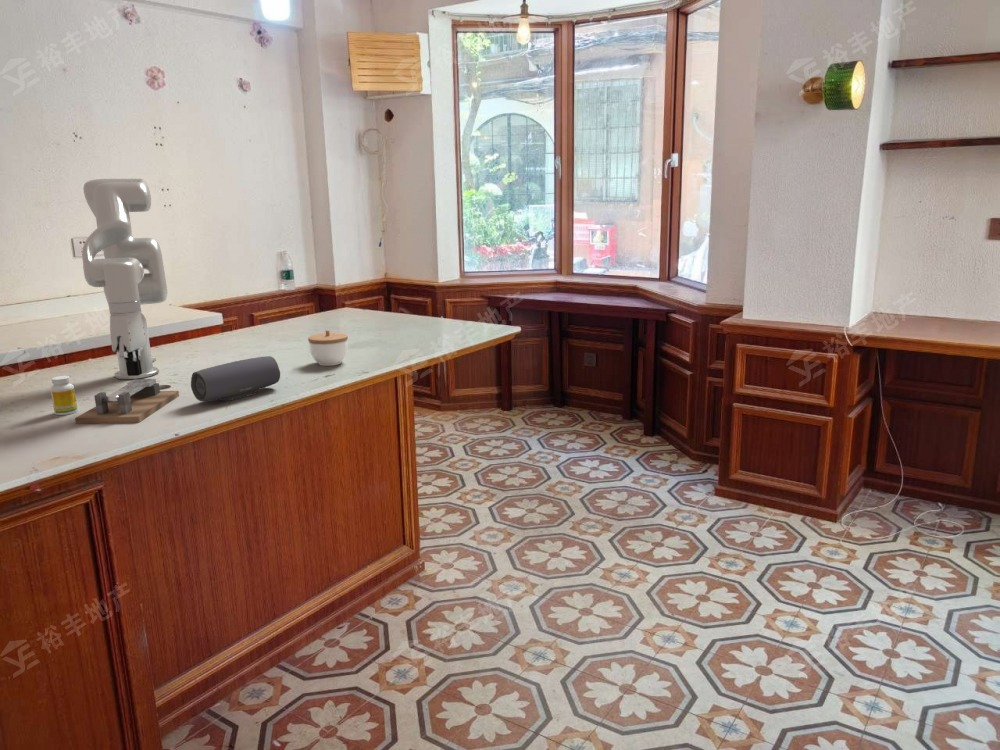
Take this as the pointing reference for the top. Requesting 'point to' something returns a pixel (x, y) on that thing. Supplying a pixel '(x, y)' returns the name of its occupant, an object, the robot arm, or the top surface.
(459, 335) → the top surface
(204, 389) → the bluetooth speaker
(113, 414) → the walnut board
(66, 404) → the supplement bottle
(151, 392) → the catch block
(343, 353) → the lidded bowl
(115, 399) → the lever
